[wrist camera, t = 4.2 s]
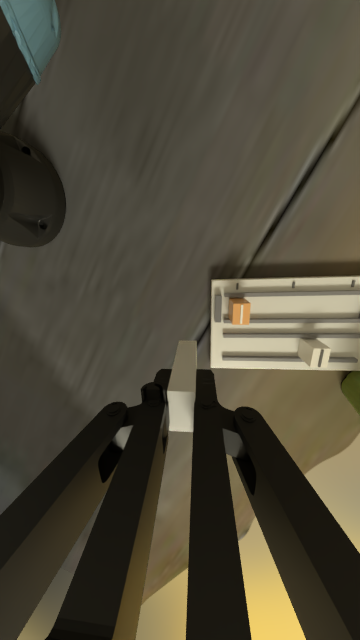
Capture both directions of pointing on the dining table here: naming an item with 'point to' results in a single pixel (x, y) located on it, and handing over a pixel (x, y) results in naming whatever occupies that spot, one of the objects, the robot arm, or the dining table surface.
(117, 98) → the dining table surface
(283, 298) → the fader panel
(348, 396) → the plant pot
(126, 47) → the dining table surface
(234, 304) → the fader knob
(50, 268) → the dining table surface
